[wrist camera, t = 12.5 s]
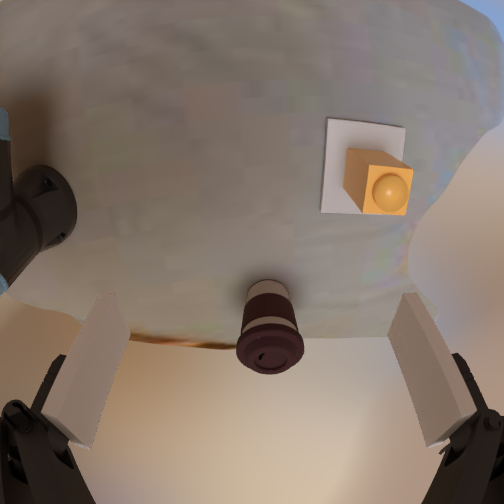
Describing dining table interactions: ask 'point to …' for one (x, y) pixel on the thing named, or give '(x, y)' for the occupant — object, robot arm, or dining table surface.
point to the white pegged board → (336, 145)
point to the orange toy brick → (377, 181)
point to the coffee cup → (269, 330)
